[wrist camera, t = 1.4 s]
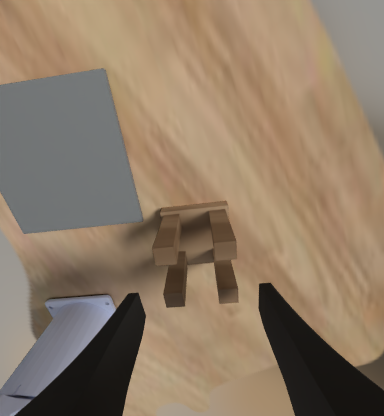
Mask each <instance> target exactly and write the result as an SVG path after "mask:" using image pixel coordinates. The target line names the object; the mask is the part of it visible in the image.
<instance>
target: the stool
mask: <svg viewBox="0 0 384 416" xmlns="http://www.w3.org/2000/svg"><path fill="white" fill-rule="evenodd" d="M160 215H161V220H162V222H161V225H160V228H159V231H158V233H157V236H156V239H155V242H154V244H153V247H152V251H153V255H154V259H155V263H156V266H162V265H169V267H168V273H167V278H166V283H165V288H164V293H163V295H164V299H165V303H166V307H167V308H169V307H183V306H185V297H186V281H187V265H190V264H202V263H213V262H214V266H215V274H216V281H217V289H218V296H219V303H220V304H225V303H239V302H238V286H237V283H236V279H235V275H234V271H233V267H232V264H231V259H237V246H236V239H235V236H234V233H233V230H232V227H231V225H230V222H229V212H228V204H227V201H220V202H211V203H202V204H193V205H183V206H174V207H165V208H162V209H161V212H160Z"/></svg>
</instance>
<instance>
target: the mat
mask: <svg viewBox="0 0 384 416" xmlns="http://www.w3.org/2000/svg"><path fill="white" fill-rule="evenodd" d="M0 192H1V194H2V196H3V197H4V199H5V201H6V203H7V205H8V206H9V208H10V210H11V212H12V214H13V215H14V217H15V219H16V221H17V223H18V224H19V226H20V228H21V230H22V232H23V233H24V234H28V233H37V232H47V231H57V230H66V229H76V228H86V227H95V226H105V225H114V224H124V223H134V222H142V221H143V216H142V212H141V208H140V204H139V200H138V196H137V192H136V188H135V184H134V180H133V176H132V172H131V168H130V164H129V160H128V157H127V153H126V149H125V145H124V141H123V137H122V133H121V129H120V125H119V121H118V117H117V113H116V109H115V105H114V101H113V97H112V94H111V90H110V86H109V82H108V78H107V74H106V70H105V69H96V70H90V71H84V72H78V73H72V74H65V75H59V76H53V77H47V78H41V79H34V80H28V81H22V82H16V83H9V84H3V85H0Z"/></svg>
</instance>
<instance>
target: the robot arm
mask: <svg viewBox="0 0 384 416" xmlns="http://www.w3.org/2000/svg"><path fill="white" fill-rule="evenodd" d="M45 306H46V307H47V309H48V311H49V312H50V314H51V315H52V317H53V320H52V321H51V322H50V324H49V325H48V326H47V328H46V329H45V331H44V332H43V333H42V335H41V336H40V337H39V339H38V340H37V341H36V343H35V344H34V345H33V347H32V348H31V349H30V351H29V352H28V353H27V355H26V356H25V358H24V359H23V360H22V362H21V363H20V364H19V366H18V367H17V368H16V370H15V371H14V372H13V374H12V375H11V376H10V378H9V379H8V380H7V382H6V383H5V384H4V386H3V387H2V389H1V390H0V416H122V415H123V410H124V405H125V400H126V395H127V390H128V386H129V382H130V379H131V375H132V371H133V368H134V364H135V361H136V357H137V354H138V350H139V347H140V343H141V339H142V336H143V330H144V325H145V318H146V315H145V312H144V309H143V306H142V303H141V299H140V296H139V293H129V294H128V295H127V296H126V297H125V299H124V300H123V301H122V303H121V304H120V305H119V307H118V308H117V309H116V308H115V306H114V303H113V301H112V298H111V297H110V296H109V295H99V296H86V297H73V298H61V299H49V300H47V301H46V302H45ZM259 312H260V315H261V319H262V323H263V326H264V329H265V332H266V334H267V337H268V340H269V342H270V345H271V347H272V350H273V353H274V355H275V358H276V360H277V363H278V365H279V368H280V370H281V373H282V375H283V379H284V381H285V384H286V387H287V390H288V394H289V397H290V400H291V404H292V407H293V410H294V413H295V416H384V390H383V389H381V388H380V387H379V386H378V385H376V384H375V383H374V382H372V381H371V380H370V379H369V378H367V377H366V376H365V375H364V374H362V373H361V372H360V371H359V370H357V369H356V368H355V367H354V366H352V365H351V364H350V363H349V362H348V361H347V360H345V359H344V358H343V357H342V356H341V355H340V354H338V353H337V352H336V351H335V350H334V349H333V348H332V347H331V346H329V345H328V344H327V343H326V342H325V341H324V340H323V339H322V338H321V337H320V336H319V335H318V334H317V333H316V332H315V331H314V330H313V329H312V328H311V327H310V326H309V325H308V324H307V323H306V322H305V321H304V320H303V319H302V318H301V317H300V316H299V315H298V314H297V313H296V312H295V311H294V310H293V309H292V307H291V306H290V305H289V304H288V303H287V302H286V301H285V300H284V298H283V297H282V296H281V295H280V294H279V293H278V291H277V290H276V289H275V288H274V286H273V285H272V284H271V283H262V284H259Z"/></svg>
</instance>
